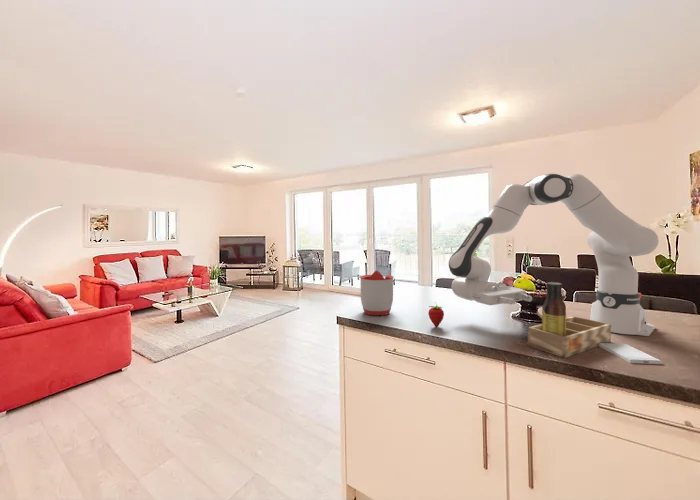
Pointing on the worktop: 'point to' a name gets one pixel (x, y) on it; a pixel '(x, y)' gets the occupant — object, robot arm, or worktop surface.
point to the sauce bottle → (554, 310)
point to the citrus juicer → (376, 293)
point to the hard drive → (629, 353)
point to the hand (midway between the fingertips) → (522, 300)
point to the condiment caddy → (570, 337)
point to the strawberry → (436, 315)
